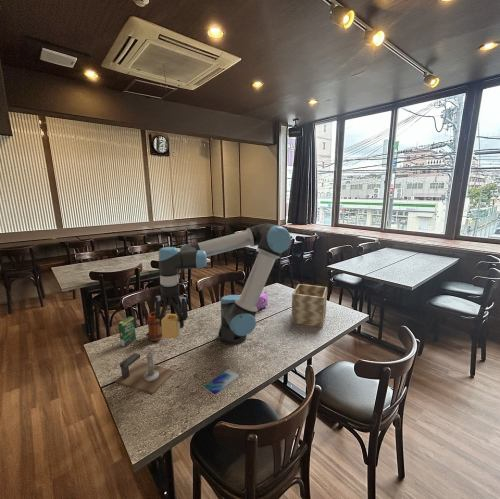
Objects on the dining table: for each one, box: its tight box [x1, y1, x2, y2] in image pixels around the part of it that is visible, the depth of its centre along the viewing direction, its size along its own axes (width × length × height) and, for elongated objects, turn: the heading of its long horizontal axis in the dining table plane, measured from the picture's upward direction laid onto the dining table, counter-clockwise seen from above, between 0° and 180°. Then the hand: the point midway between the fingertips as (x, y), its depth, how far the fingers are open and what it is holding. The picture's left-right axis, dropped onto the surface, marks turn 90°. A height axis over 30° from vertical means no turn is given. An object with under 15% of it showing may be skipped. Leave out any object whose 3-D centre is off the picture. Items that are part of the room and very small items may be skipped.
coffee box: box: [117, 315, 137, 348], centre depth 139 cm, size 8×3×13 cm, turn 159°
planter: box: [290, 283, 328, 328], centre depth 165 cm, size 18×19×18 cm
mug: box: [145, 306, 163, 342], centre depth 145 cm, size 15×8×15 cm, turn 168°
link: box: [161, 313, 186, 339], centre depth 123 cm, size 16×6×8 cm, turn 173°
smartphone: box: [203, 368, 241, 396], centre depth 111 cm, size 7×1×15 cm
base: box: [114, 352, 176, 395], centre depth 113 cm, size 19×14×12 cm
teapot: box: [256, 289, 269, 311], centre depth 182 cm, size 15×13×11 cm
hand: (172, 333), depth 119 cm, fingers closed on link, 6 cm apart
